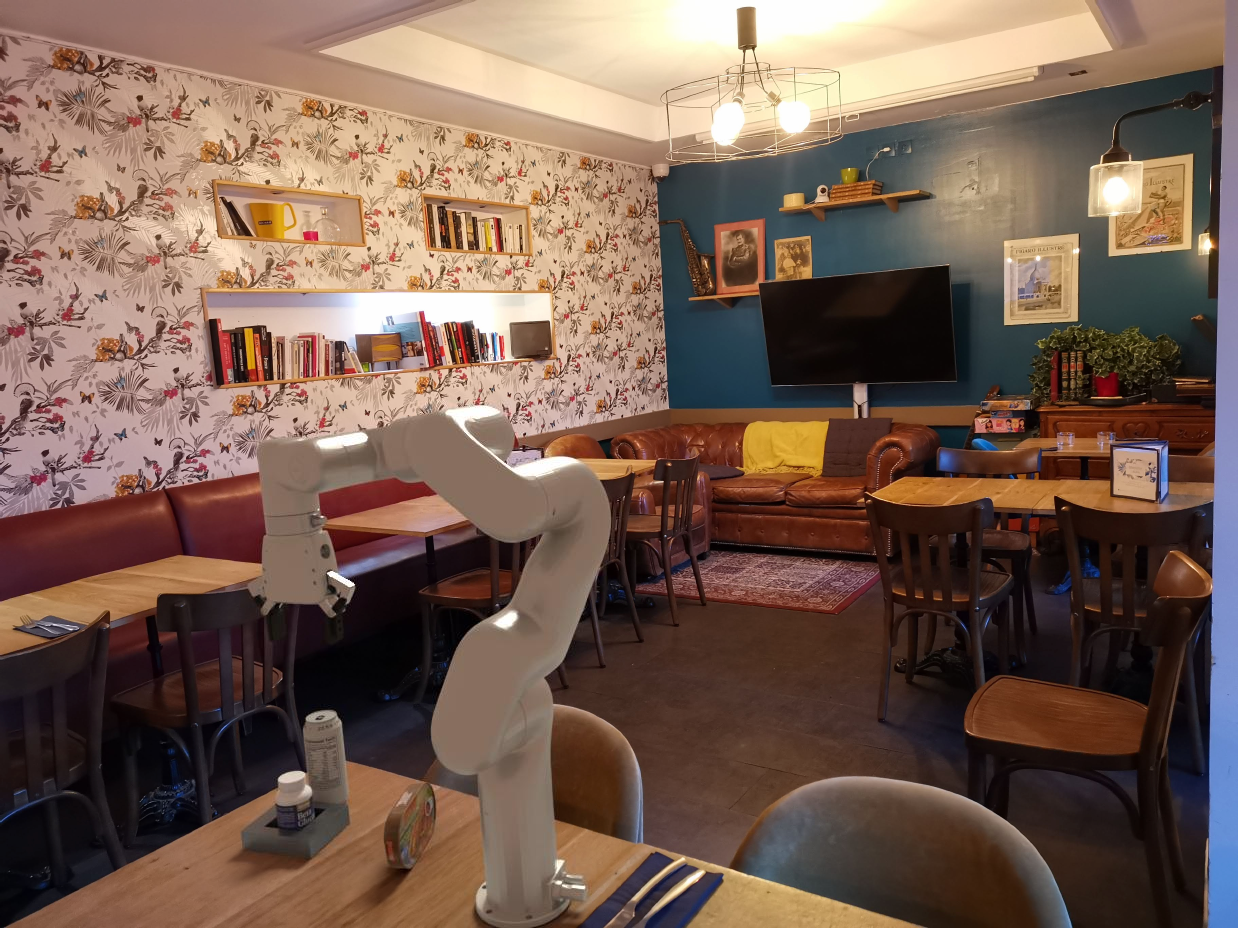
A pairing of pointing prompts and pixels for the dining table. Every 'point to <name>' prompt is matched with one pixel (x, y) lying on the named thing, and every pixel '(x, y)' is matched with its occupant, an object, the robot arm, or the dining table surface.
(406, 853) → the tin
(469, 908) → the dining table surface
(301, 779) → the pill bottle
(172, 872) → the dining table surface
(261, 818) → the socket block
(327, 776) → the energy drink can
